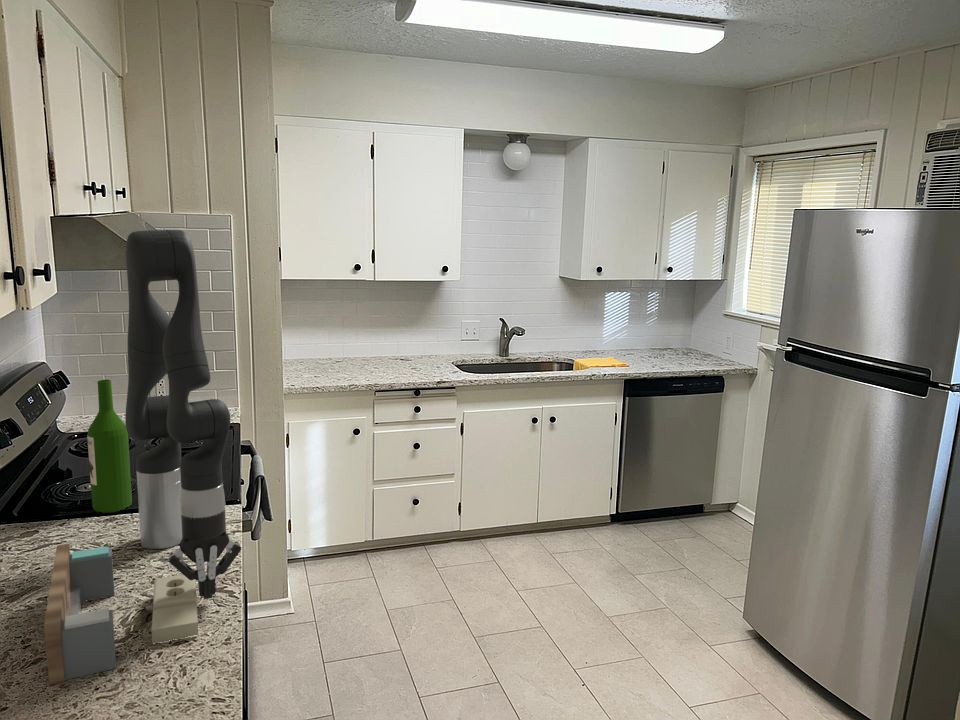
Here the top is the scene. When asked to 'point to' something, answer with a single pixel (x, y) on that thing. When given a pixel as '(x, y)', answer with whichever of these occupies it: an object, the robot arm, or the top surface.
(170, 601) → the electrical outlet
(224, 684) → the top surface
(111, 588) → the module
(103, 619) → the block
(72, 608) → the metal rail
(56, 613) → the mounting panel
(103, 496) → the wine bottle
